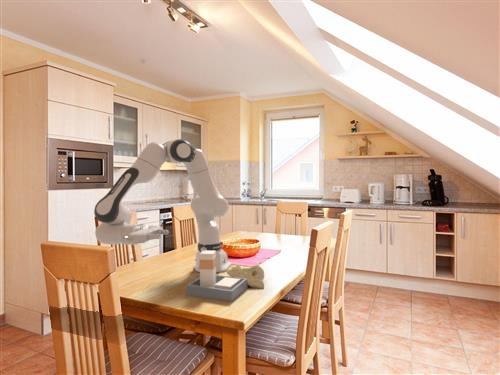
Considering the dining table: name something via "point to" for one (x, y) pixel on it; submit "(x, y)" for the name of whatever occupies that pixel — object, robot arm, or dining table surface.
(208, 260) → the juice carton
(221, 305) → the dining table surface
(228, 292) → the tote
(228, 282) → the white rectangular block
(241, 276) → the beige rock
